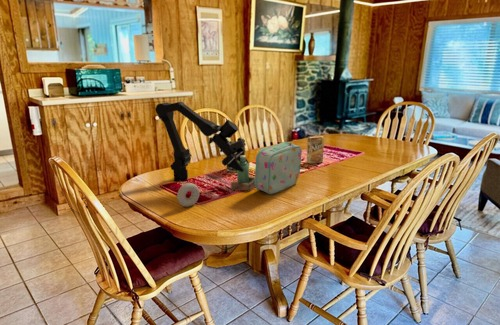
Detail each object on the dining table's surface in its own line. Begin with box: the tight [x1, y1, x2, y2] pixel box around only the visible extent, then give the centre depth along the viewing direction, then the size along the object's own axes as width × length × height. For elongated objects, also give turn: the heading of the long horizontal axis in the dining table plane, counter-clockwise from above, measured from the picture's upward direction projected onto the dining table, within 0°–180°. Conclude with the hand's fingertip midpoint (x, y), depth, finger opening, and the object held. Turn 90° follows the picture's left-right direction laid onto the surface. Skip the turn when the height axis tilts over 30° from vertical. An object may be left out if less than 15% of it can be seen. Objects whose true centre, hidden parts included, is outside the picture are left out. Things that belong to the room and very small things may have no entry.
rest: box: [230, 176, 255, 192], centre depth 168 cm, size 10×11×3 cm
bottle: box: [236, 154, 250, 184], centre depth 167 cm, size 6×6×14 cm
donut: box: [176, 182, 200, 208], centre depth 144 cm, size 10×4×10 cm, turn 131°
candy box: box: [306, 135, 325, 164], centre depth 206 cm, size 9×4×15 cm, turn 107°
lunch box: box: [254, 141, 302, 195], centre depth 164 cm, size 27×10×21 cm, turn 141°
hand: (246, 168), depth 166 cm, fingers open, 9 cm apart
